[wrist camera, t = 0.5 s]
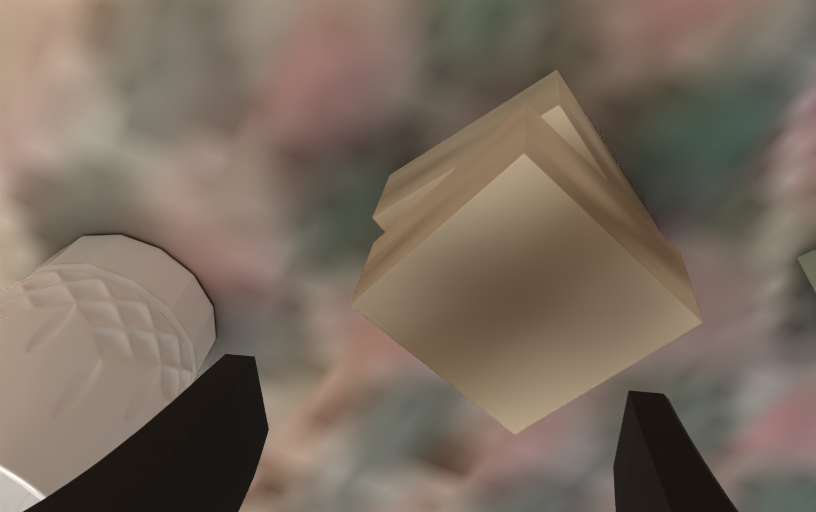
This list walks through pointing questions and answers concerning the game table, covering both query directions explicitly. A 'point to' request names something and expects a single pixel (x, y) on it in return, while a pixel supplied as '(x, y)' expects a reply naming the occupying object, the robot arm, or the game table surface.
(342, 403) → the game table surface
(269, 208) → the game table surface
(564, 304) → the slab upper
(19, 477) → the white cup
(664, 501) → the robot arm
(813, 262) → the cube
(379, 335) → the game table surface
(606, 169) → the slab lower
